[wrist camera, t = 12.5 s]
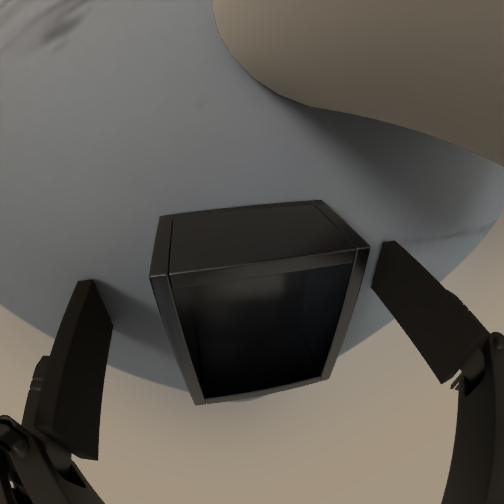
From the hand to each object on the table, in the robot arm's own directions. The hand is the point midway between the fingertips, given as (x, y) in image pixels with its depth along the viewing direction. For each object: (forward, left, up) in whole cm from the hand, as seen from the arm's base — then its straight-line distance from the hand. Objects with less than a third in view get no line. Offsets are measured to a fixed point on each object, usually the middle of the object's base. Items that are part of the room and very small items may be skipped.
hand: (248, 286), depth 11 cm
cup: (+4, +11, 0) cm, 12 cm away
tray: (0, 0, 0) cm, 0 cm away
